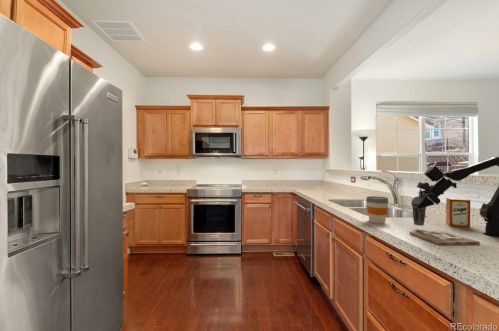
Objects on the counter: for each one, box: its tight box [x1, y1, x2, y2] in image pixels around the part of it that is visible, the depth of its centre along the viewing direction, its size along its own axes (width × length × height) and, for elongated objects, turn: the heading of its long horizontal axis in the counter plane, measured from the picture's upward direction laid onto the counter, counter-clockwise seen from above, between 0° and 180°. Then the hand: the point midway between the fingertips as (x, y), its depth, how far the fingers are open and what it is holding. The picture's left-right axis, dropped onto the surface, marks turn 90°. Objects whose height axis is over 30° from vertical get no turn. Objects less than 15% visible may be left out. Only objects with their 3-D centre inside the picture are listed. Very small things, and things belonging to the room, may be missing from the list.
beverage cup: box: [410, 188, 427, 227], centre depth 142 cm, size 7×7×20 cm
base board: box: [409, 230, 480, 246], centre depth 124 cm, size 20×18×2 cm
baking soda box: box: [445, 197, 471, 228], centre depth 151 cm, size 10×6×16 cm
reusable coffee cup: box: [365, 195, 389, 224], centre depth 161 cm, size 12×13×15 cm
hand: (416, 207), depth 142 cm, fingers closed on beverage cup, 7 cm apart
